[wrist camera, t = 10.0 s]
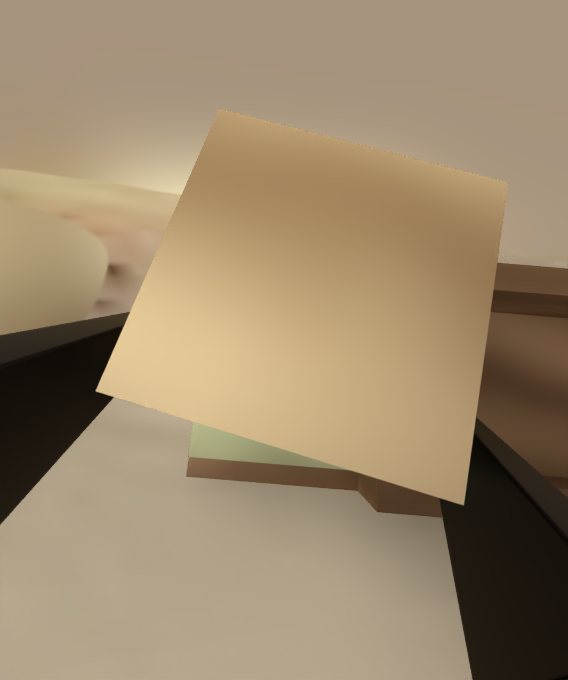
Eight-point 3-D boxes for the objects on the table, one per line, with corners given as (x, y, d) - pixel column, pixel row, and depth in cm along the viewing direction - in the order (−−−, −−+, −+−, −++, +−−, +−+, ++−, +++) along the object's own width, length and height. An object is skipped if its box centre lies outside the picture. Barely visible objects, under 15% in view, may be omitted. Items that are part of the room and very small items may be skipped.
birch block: (322, 427, 15) (464, 505, 4) (234, 401, 16) (95, 390, 4) (344, 341, 16) (508, 182, 5) (261, 317, 17) (219, 108, 5)
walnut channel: (682, 506, 17) (864, 552, 12) (199, 466, 17) (163, 494, 12) (643, 317, 20) (777, 285, 15) (224, 283, 20) (204, 238, 15)
